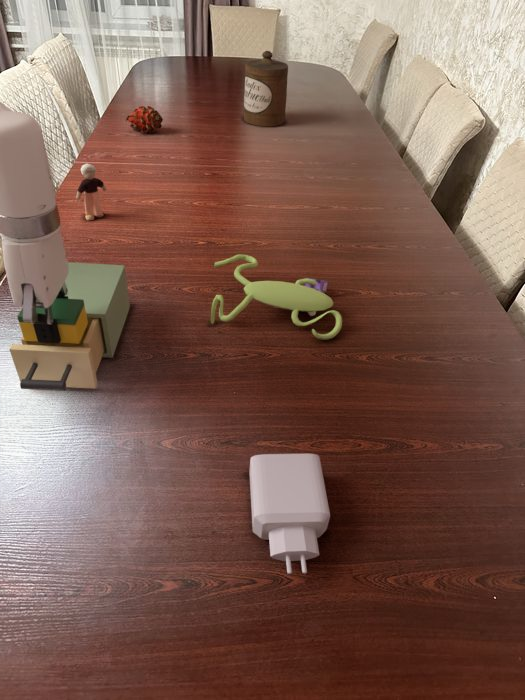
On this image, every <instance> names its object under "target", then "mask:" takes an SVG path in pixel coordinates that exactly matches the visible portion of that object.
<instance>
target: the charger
mask: <svg viewBox="0 0 525 700" xmlns="http://www.w3.org/2000/svg"><path fill="white" fill-rule="evenodd" d="M320 458H321V457H320V456H319V454H315V453H261V454H255V455H253V456H251V457H250V459H249V474H248V475H249V489H250V492H249V493H250V507H251V524H252V525H251V526H252V533H253V534H255V535H256V536H257V537H259V539H261V540H265V541H266V540H267V541H268V540H269V541H268V544H269V554H270V558H272V559H273V560H277V561H281V562H285V564H286V573H287V575H291V574H293V569H292V562H298V561H299V562H300V565H301V572H302V574H304V575H305V574H307V573H308V570H307V562H306V561H307V560H310V559H311V560H312V559H315V558H317V557H318V556H320V551H319V543H318V538H320V537H321V536H323V534H324V533H325V532H326V531H327V530H328V526H329V522H330V519H331V513H330V512H331V511H330V506H329V502H328V501H329V500H328V496H327V490H326V484H325V479H324V475H323V474H324V473H323V468H322V463H321V459H320Z"/></svg>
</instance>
